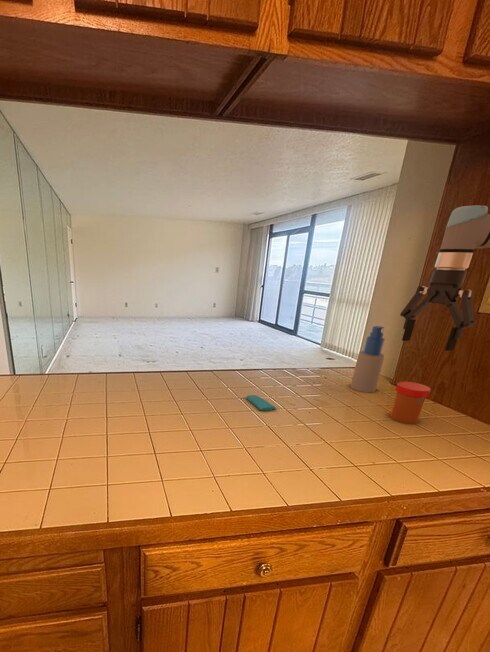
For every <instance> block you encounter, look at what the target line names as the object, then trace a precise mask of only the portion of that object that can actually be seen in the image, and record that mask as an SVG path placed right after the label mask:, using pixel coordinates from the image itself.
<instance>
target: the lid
mask: <svg viewBox="0 0 490 652" xmlns="http://www.w3.org/2000/svg"><path fill="white" fill-rule="evenodd" d="M395 391H396V393H397V392H398V393H401V394H403V395H406V396H411V397H417V398H425V397H426V398H428V397H429V396H430V394H431V388H430V387H429V386H427V385H425V384H422V383H418V382H413V381H399V382H397V384H396V386H395ZM426 398H425V399H426Z"/></svg>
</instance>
